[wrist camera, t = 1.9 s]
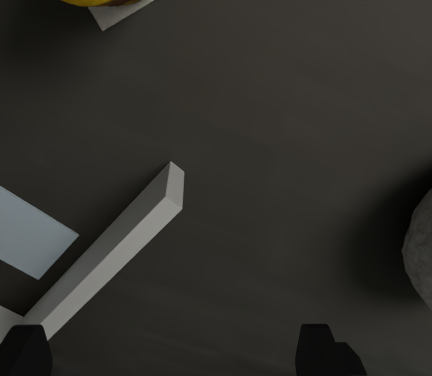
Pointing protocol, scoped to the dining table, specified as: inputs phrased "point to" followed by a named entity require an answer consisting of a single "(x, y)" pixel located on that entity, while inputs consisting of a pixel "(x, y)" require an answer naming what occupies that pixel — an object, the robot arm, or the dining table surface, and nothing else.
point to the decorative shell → (420, 249)
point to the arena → (105, 254)
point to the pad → (30, 236)
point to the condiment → (110, 9)
